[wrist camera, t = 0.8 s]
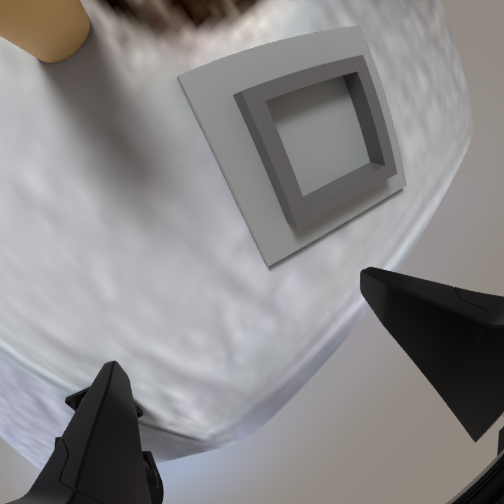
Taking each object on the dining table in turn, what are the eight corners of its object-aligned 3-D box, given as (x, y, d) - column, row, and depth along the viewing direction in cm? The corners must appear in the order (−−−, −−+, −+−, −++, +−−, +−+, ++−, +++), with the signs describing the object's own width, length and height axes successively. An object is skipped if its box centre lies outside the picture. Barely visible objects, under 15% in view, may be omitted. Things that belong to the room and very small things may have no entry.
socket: (264, 262, 24) (277, 278, 22) (177, 78, 17) (180, 69, 14) (401, 183, 26) (421, 190, 24) (353, 27, 19) (374, 20, 16)
